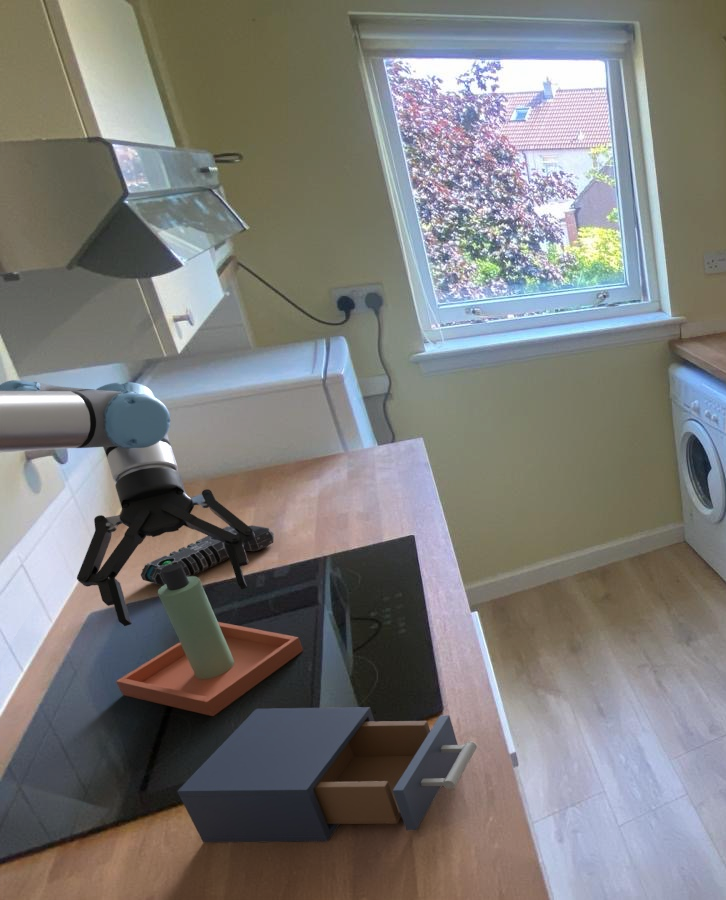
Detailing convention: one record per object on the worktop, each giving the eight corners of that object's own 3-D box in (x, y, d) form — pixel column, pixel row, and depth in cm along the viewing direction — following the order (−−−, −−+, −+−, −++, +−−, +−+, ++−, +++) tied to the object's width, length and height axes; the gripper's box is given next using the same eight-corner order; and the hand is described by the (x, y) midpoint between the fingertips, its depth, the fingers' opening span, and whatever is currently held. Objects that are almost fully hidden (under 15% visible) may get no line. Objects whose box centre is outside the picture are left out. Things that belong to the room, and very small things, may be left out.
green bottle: (188, 674, 110) (142, 572, 103) (223, 654, 114) (180, 556, 107) (206, 683, 108) (160, 580, 101) (241, 663, 112) (199, 563, 105)
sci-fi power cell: (273, 525, 145) (240, 517, 148) (166, 576, 129) (132, 566, 132) (280, 543, 146) (247, 535, 150) (175, 596, 130) (142, 585, 134)
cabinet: (386, 755, 95) (370, 707, 92) (327, 841, 84) (306, 789, 80) (276, 756, 95) (255, 708, 92) (202, 842, 84) (176, 791, 81)
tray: (122, 695, 107) (115, 681, 106) (219, 634, 120) (213, 620, 119) (213, 716, 102) (206, 702, 101) (303, 650, 115) (298, 637, 114)
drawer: (491, 752, 94) (481, 714, 91) (452, 830, 83) (439, 790, 81) (356, 753, 94) (343, 716, 92) (300, 831, 84) (283, 791, 81)
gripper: (250, 464, 121) (290, 579, 116) (45, 513, 107) (80, 646, 102) (242, 444, 115) (283, 564, 110) (24, 492, 101) (60, 633, 96)
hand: (186, 604), depth 106 cm, fingers open, 13 cm apart
